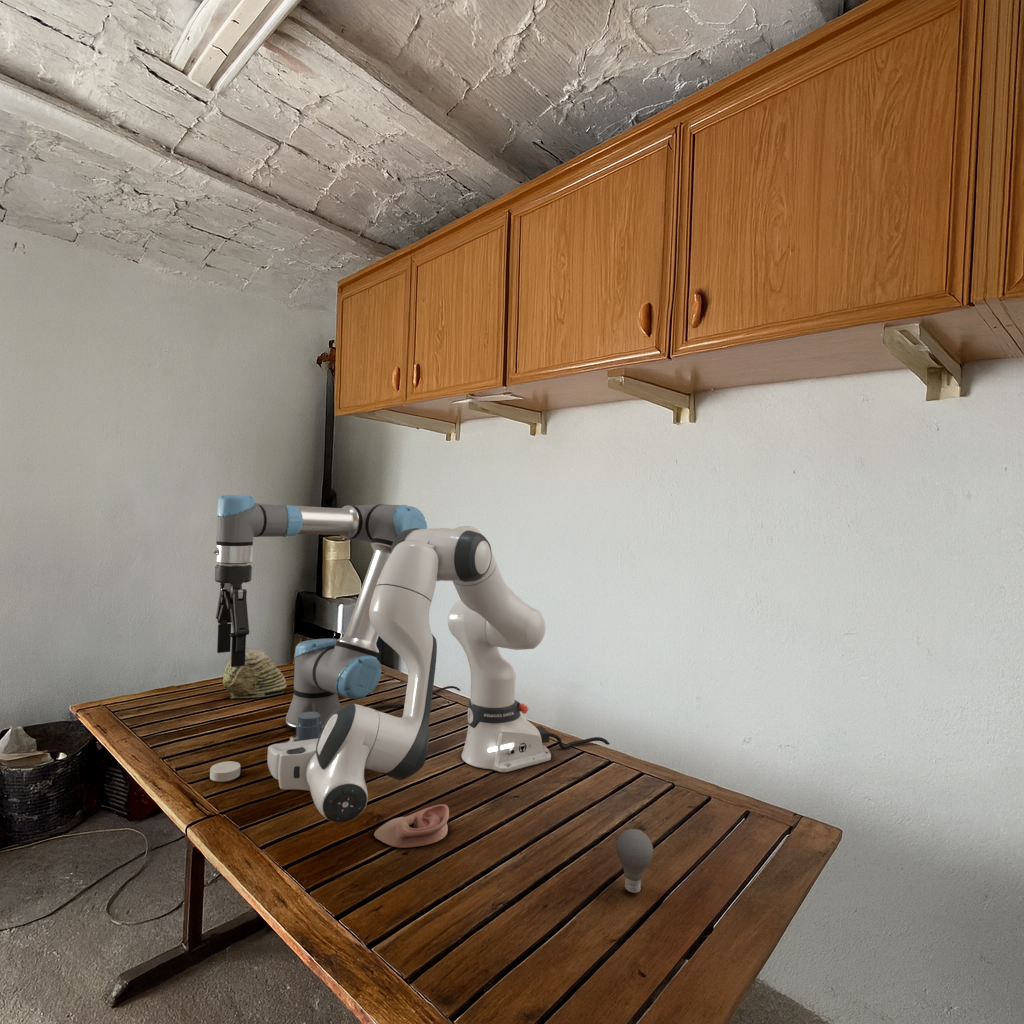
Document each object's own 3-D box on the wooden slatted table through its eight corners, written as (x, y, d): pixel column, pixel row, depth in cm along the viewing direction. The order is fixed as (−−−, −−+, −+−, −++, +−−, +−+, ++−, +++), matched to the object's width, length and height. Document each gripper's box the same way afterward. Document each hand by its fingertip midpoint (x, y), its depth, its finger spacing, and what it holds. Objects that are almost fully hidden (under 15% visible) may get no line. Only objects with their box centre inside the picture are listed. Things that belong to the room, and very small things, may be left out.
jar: (315, 777, 143) (318, 709, 142) (321, 787, 138) (324, 717, 138) (291, 782, 140) (294, 712, 140) (296, 792, 135) (299, 720, 135)
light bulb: (610, 879, 108) (613, 822, 108) (644, 879, 109) (647, 822, 109) (619, 902, 102) (622, 840, 102) (655, 901, 103) (658, 840, 103)
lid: (213, 784, 137) (213, 775, 137) (207, 773, 142) (207, 765, 142) (243, 777, 141) (243, 768, 141) (236, 767, 146) (236, 759, 146)
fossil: (218, 695, 195) (220, 647, 195) (278, 685, 208) (279, 640, 207) (228, 703, 189) (230, 653, 188) (289, 692, 201) (290, 645, 201)
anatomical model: (367, 821, 116) (391, 793, 128) (366, 843, 116) (391, 813, 128) (436, 832, 114) (455, 803, 125) (435, 854, 114) (454, 822, 125)
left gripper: (204, 558, 149) (201, 648, 149) (228, 571, 129) (225, 674, 129) (238, 558, 153) (235, 645, 154) (266, 569, 133) (263, 670, 134)
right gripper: (385, 740, 121) (369, 715, 133) (271, 756, 112) (265, 728, 125) (384, 772, 121) (368, 745, 134) (270, 791, 112) (264, 760, 125)
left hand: (230, 658), depth 141 cm, fingers open, 13 cm apart
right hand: (317, 737), depth 129 cm, fingers open, 8 cm apart
